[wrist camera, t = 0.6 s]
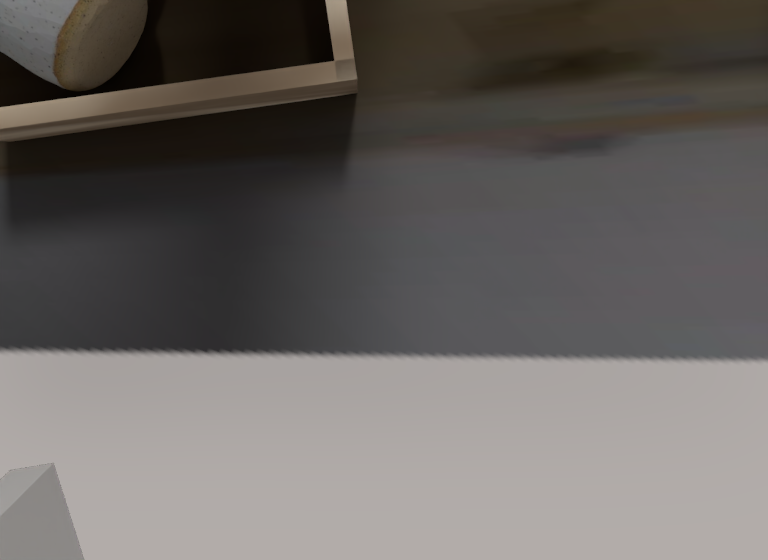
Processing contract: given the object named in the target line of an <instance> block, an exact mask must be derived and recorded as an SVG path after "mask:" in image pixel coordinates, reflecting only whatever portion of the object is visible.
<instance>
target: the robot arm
mask: <svg viewBox="0 0 768 560" xmlns="http://www.w3.org/2000/svg"><path fill="white" fill-rule="evenodd" d="M0 560H84V558H83V555H82V551H81V548H80V545H79V542H78V539H77V535H76V532H75V529H74V526H73V523H72V520H71V517H70V514H69V510H68V507H67V504H66V501H65V498H64V494H63V492H62V489H61V485H60V482H59V479H58V476H57V472H56V469H55V466H54V464H53V463H51V464H45V465H39V466H32V467H26V468H20V469H14V470H10V471H9V472H8V473H7V474H6V475H5V476H4V477H3V478H1V479H0Z"/></svg>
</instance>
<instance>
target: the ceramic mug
mask: <svg viewBox="0 0 768 560" xmlns="http://www.w3.org/2000/svg"><path fill="white" fill-rule="evenodd" d="M147 10H148V5H147V0H0V51H1V52H2V53H4V54H6V55H7V56H9V57H10V58H12V59H13V60H14V61H16V62H17V63H19V64H20V65H22V66H23V67H25V68H26V69H28V70H29V71H31V72H33V73H34V74H36V75H37V76H39V77H41V78H43V79H45V80H47V81H49V82H51V83H54V84H56V85H58V86H60V87H61V88H64V89H67V90H71V91H86V90H90V89H93V88H96V87H98V86H100V85H102V84H103V83H105V82H106V81H108V80H109V79H110V78H111V77H113V76H114V75H115V74H116V73H117V72H118V71H119V70H120V68H121V67H122V66H123V65H124V63H125V62H126V61H127V60H128V58H129V57H130V55H131V53H132V52H133V50H134V48H135V47H136V45H137V43H138V41H139V39H140V36H141V34H142V32H143V29H144V26H145V22H146V18H147Z"/></svg>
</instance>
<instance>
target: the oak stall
mask: <svg viewBox="0 0 768 560" xmlns="http://www.w3.org/2000/svg"><path fill="white" fill-rule="evenodd" d="M325 1H326V8H327V14H328V21H329V28H330V34H331V41H332V48H333V55H334V61H330V62H323V63H316V64H309V65H302V66H294V67H287V68H280V69H273V70H266V71H258V72H251V73H244V74H237V75H230V76H222V77H215V78H208V79H201V80H194V81H186V82H179V83H172V84H165V85H158V86H150V87H143V88H136V89H129V90H122V91H114V92H107V93H100V94H93V95H86V96H78V97H71V98H64V99H57V100H50V101H42V102H35V103H28V104H21V105H14V106H6V107H0V141H8V142H12V141H20V140H27V139H34V138H41V137H48V136H55V135H62V134H69V133H77V132H84V131H91V130H98V129H105V128H112V127H119V126H127V125H134V124H141V123H148V122H155V121H162V120H169V119H176V118H184V117H191V116H198V115H205V114H212V113H219V112H226V111H234V110H241V109H248V108H255V107H262V106H269V105H276V104H283V103H291V102H298V101H305V100H312V99H319V98H326V97H333V96H341V95H348V94H355V93H357V74H356V67H355V60H354V53H353V46H352V39H351V32H350V25H349V18H348V11H347V4H346V0H325Z"/></svg>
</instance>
